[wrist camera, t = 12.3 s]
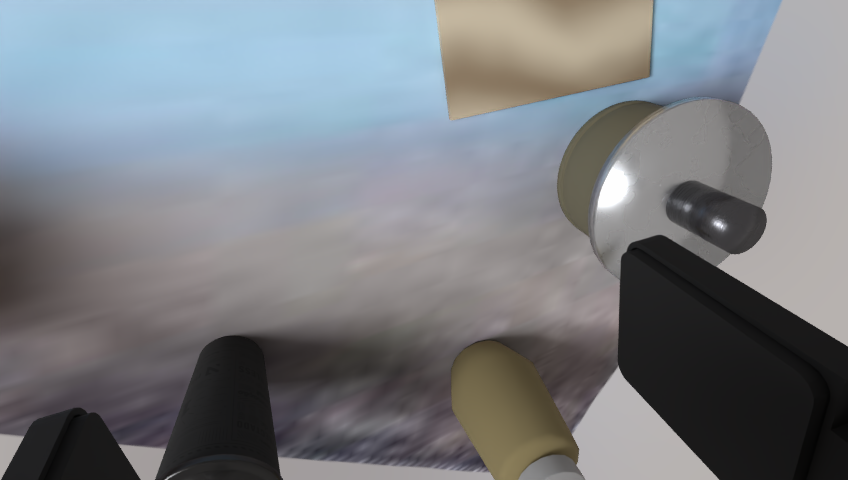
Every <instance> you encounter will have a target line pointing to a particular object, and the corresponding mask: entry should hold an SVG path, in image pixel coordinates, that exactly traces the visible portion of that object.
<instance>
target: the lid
mask: <svg viewBox="0 0 848 480" xmlns="http://www.w3.org/2000/svg"><path fill="white" fill-rule="evenodd" d="M771 171H772V155H771V147H770V143H769V140H768V136H767V134H766V132H765V130H764V128H763V126H762V124H761V123H760V121H758V119H757V117H755V116H754V115H753V114H752V113H751V112H750V111H749V110H747V109H745V108H744V107H742V106H741V105H738V104H736V103H733V102H730V101H725V100H721V99H716V98H710V97H694V98H688V99H683V100H680V101H676V102H673V103H671V104H668V105H666V106H664V107H662V108H660V109H658V110H656V111H655V112H653V113H651V114H650V115H648V116H647V117H645V118H644V119H643V120H641V121H640V122H639V123H637V124H636V125H635V126H634V127H633V128H632V129H631V130H630V131H629V132H628V133H627V134H626V135H625V136H624V137H623V138H622V139H621V140H620V142H619V143H618V144H617V145H616V146H615V148H614V149H613V151H612V152H611V154H610V155H609V156H608V158H607V160H606V161H605V163H604V165H603V167H602V169H601V170H600V173H599V175H598V177H597V180H596V182H595V185H594V188H593V191H592V194H591V199H590V204H589V210H588V232H589V237H590V242H591V245H592V248H593V250H594V253H595V255H596V256H597V258H598V260H599V261H600V263H601V264H602V265H603V266H604V267H605V269H607V270H608V271H609V272H610V273H612V274H613V275H614V276H615V277H616V278H618V279H619V280H620V269H621V257H622V255H623V254H624V253H625V252H627V248H628V246H629V244H631V243H632V242H635V241H638V240H642V239H645V238H649V237H652V236H655V235H663V236H666V237H668V238H669V239H671V240H673V241H674V242H676V243H678V244H679V245H681V246H683V247H684V248H686V249H687V250H689V251H691V252H692V253H694V254H696V255H697V256H699V257H701V258H702V259H704V260H706V261H707V262H709V263H711V264H712V265H714V266H717V265H719V264H720V263H721V262H722V261H723V260H725V259H726V258H727V257H728V256H729V255H730V254H740V253H743V252H745V251H747V250H749V249H750V248H752V247H753V246H754V245H755V244H756V243H757V242H758V241H759V239H760V238H761V236H762V234H763V233H764V230H765V227H766V222H767V219H766V214H765V212H764V210H763V209H762V206H763V204H764V201H765V198H766V195H767V192H768V188H769V184H770V179H771Z"/></svg>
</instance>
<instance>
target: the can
mask: <svg viewBox="0 0 848 480" xmlns="http://www.w3.org/2000/svg"><path fill="white" fill-rule="evenodd" d="M662 107H664V106H659V105H656V104H653V103H650V102H645V101H626V102H622V103H618V104H615V105H612V106H610V107H608V108H606V109H604V110H602V111H601V112H599V113H597V114H596V115H595V116H593V117H592V118H591V119H590V120H588V121H587V122H586V123H585V124H584V125H583V126H582V127H581V128H580V130H579V131H578V132H577V133H576V135H575V136H574V137H573V139H572V140H571V142H570V144H569V145H568V147H567V149H566V151H565V153H564V156H563V158H562V161H561V164H560V168H559V173H558V180H557V191H558V198H559V202H560V206H561V208H562V211H563V212H564V214H565V216H566V217H567V219H568V220H569V221H570V222H571V223H572V224H573V225H574V226H575V227H576V228H578V229H579V230H581V231H582V232H584V233H585V234H586V235H587V236H588V237H589V232H588V210H589V204H590V199H591V194H592V191H593V188H594V185H595V182H596V180H597V177H598V175H599V173H600V170H601V169H602V167H603V165H604V163H605V161H606V160H607V158H608V156H609V155H610V154H611V152H612V151H613V149H614V148H615V146H616V145H617V144H618V143H619V142H620V140H621V139H622V138H623V137H624V136H625V135H626V134H627V133H628V132H629V131H630V130H631V129H632V128H633V127H634V126H635V125H636V124H637V123H639V122H640V121H641V120H643V119H644V118H645V117H647V116H648V115H650V114H651V113H653V112H655V111H656V110H658V109H660V108H662Z"/></svg>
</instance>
